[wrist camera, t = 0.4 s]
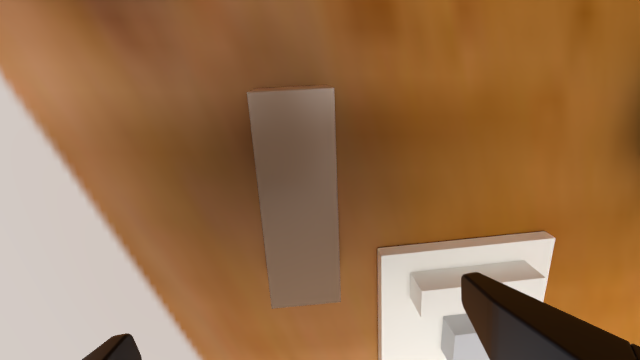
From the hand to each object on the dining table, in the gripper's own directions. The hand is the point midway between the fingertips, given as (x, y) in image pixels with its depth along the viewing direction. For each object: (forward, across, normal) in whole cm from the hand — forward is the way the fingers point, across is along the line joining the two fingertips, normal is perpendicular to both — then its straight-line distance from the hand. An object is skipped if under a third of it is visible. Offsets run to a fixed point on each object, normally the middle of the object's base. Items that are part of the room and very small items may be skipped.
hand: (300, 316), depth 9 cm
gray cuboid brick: (+12, 0, +1) cm, 12 cm away
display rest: (+12, -10, +14) cm, 21 cm away
